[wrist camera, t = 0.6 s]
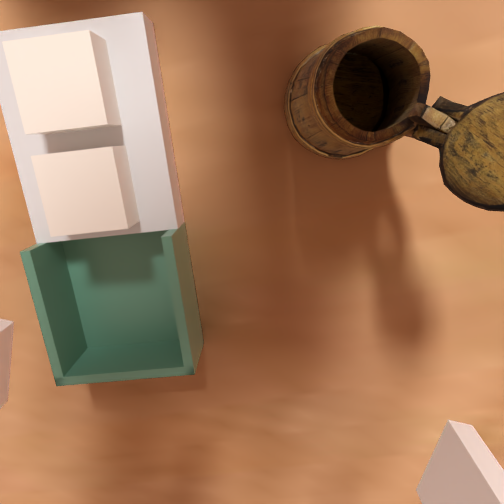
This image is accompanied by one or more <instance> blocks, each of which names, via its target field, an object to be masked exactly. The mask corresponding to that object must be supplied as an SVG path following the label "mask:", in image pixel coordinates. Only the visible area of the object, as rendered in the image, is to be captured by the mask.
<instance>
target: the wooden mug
mask: <svg viewBox="0 0 504 504" xmlns="http://www.w3.org/2000/svg"><path fill="white" fill-rule="evenodd" d="M429 82H430V68H429V61H428V59H427V58H426V56H425V54H424V52H423V50H422V49H421V48H420V47H419V46H418V45H417V44H416V43H415V41H413V40H412V39H411V38H409V37H408V36H406V35H405V34H403V33H402V32H400V31H396V30H392V29H389V28H385V27H380V26H372V27H364V28H361V29H359V30H356V31H353V32H350V33H347V34H344V35H341V36H340V37H338V38H337V39H335V40H334V41H332V42H331V43H329V44H327V45H323V46H320V47H318V48H317V49H316V50H314V51H313V52H312V53H310V54H309V55H308V56H307V57H306V58H305V59H304V60H303V61H302V62H301V63H300V64H299V65H298V66H297V67H296V69H295V71H294V73H293V74H292V76H291V78H290V80H289V83H288V86H287V90H286V93H285V106H284V112H285V116H286V120H287V124H288V127H289V129H290V131H291V133H292V135H293V136H294V138H295V139H296V140H297V141H298V142H299V143H300V144H301V145H302V146H303V147H305V148H306V149H308V150H310V151H312V152H314V153H315V154H317V155H320V156H323V157H326V158H335V159H345V158H351V157H356V156H359V155H361V154H363V153H365V152H367V151H369V150H371V149H373V148H376V147H381V146H385V145H387V144H389V143H391V142H393V141H396V140H398V139H400V138H402V137H403V136H407V137H412V138H415V139H417V140H419V141H422V142H425V143H427V144H430V145H432V146H434V147H437V148H439V152H440V162H439V167H440V171H441V175H442V178H443V182H444V185H445V186H446V187H447V188H448V189H449V190H450V191H451V192H452V193H453V194H454V195H456V196H457V197H459V198H460V199H461V200H463V201H464V202H466V203H468V204H470V205H473V206H475V207H478V208H481V209H485V210H488V211H504V92H503V93H500V94H497V95H494V96H491V97H489V98H487V99H484V100H482V101H479V102H477V103H475V104H472V105H470V106H465V105H461V104H458V103H454V102H451V101H449V100H447V99H445V98H443V97H441V96H440V97H439V99H438V100H437V101H436V102H435V103H434V105H433V106H432V107H430V106H428V105H426V100H427V95H428V90H429Z"/></svg>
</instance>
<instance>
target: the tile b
mask: <svg viewBox="0 0 504 504" xmlns="http://www.w3.org/2000/svg"><path fill="white" fill-rule="evenodd" d="M31 160H32V164H33V168H34V172H35V176H36V180H37V184H38V188H39V192H40V196H41V200H42V204H43V208H44V212H45V216H46V220H47V224H48V228H49V232H50V236H51V237H55V236H64V235H74V234H83V233H92V232H102V231H111V230H121V229H129V228H130V227H131V226H133V225H134V224H136V223H137V222H139V221H140V219H139V213H138V208H137V203H136V197H135V192H134V187H133V182H132V176H131V171H130V166H129V160H128V155H127V150H126V145H125V146H111V147H102V148H94V149H85V150H77V151H68V152H60V153H51V154H43V155H34V156H31Z"/></svg>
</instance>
